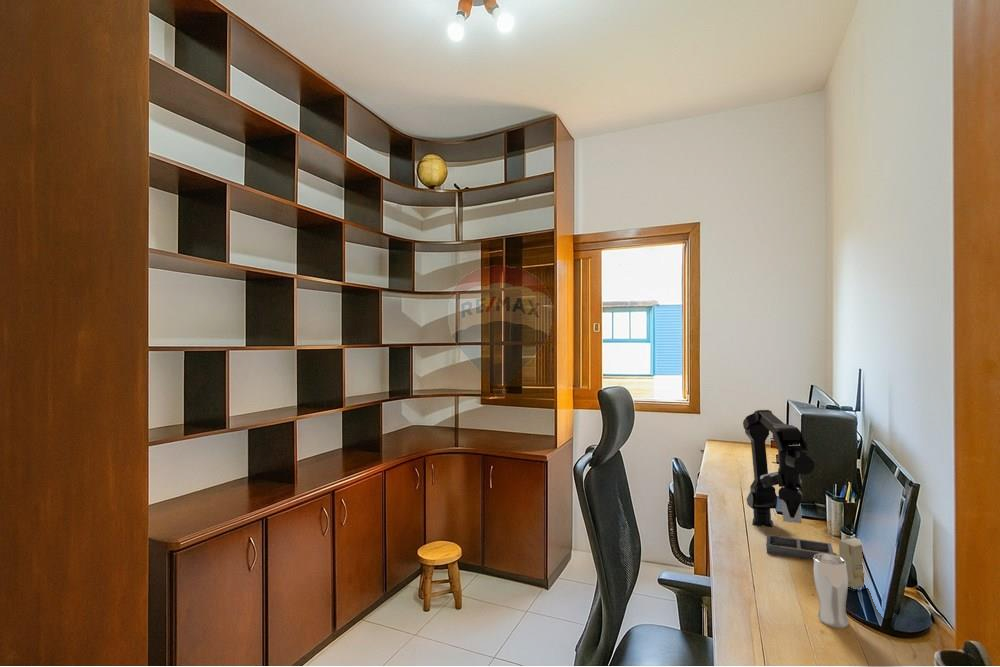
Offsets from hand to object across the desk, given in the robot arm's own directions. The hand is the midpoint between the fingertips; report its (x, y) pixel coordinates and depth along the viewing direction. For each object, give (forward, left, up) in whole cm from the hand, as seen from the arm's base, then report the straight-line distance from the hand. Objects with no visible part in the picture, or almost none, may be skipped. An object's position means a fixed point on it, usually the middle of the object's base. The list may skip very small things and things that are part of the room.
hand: (792, 514), depth 154 cm
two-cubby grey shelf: (-1, +1, -12) cm, 12 cm away
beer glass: (+39, +7, -12) cm, 41 cm away
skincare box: (+17, +14, -12) cm, 25 cm away
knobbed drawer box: (0, 0, -2) cm, 2 cm away
